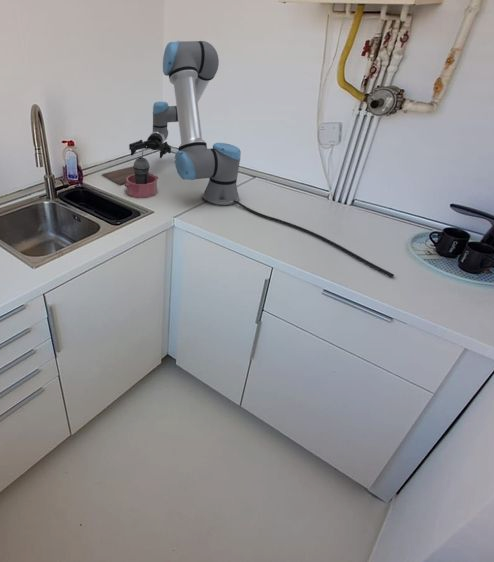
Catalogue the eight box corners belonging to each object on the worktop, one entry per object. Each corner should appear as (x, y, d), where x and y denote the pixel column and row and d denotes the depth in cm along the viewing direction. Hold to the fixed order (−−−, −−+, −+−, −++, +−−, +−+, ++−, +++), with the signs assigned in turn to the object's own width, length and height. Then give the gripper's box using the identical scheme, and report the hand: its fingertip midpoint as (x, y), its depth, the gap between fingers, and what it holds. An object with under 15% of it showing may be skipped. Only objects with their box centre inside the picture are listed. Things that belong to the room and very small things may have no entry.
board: (153, 176, 187) (153, 174, 186) (119, 185, 177) (119, 183, 177) (134, 167, 197) (134, 165, 196) (102, 175, 187) (102, 173, 187)
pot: (165, 191, 171) (165, 179, 168) (135, 201, 163) (134, 188, 159) (147, 182, 180) (147, 170, 176) (117, 191, 172) (117, 178, 168)
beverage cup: (143, 187, 175) (143, 143, 163) (152, 192, 170) (153, 148, 159) (130, 190, 172) (129, 146, 160) (139, 195, 167) (138, 151, 155)
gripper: (179, 150, 186) (172, 164, 170) (131, 146, 191) (120, 159, 174) (180, 134, 182) (173, 147, 165) (131, 130, 186) (119, 143, 170)
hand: (146, 153), depth 170 cm, fingers open, 13 cm apart
